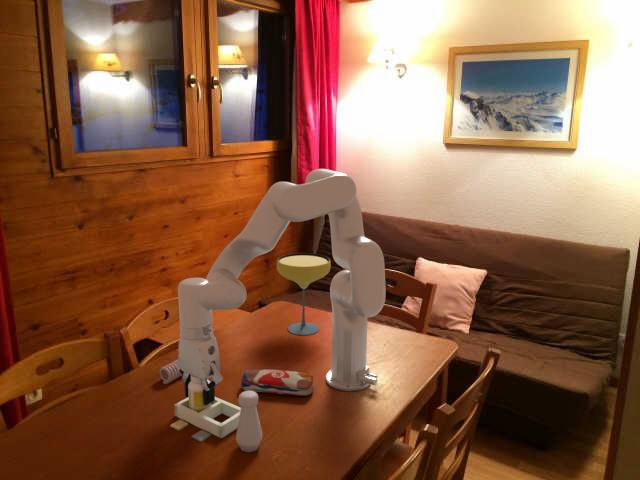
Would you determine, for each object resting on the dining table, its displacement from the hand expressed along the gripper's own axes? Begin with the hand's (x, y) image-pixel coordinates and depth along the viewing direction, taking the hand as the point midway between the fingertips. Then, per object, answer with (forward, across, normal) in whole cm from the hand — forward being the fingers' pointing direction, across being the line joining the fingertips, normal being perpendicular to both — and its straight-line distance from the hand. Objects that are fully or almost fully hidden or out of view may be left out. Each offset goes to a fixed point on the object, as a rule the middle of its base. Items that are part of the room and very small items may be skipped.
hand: (199, 398), depth 130 cm
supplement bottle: (+4, 0, 0) cm, 4 cm away
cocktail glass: (+5, +11, -58) cm, 59 cm away
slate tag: (+4, -7, +7) cm, 11 cm away
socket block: (+4, -4, 0) cm, 6 cm away
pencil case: (+5, -8, -20) cm, 22 cm away
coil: (+5, +20, -14) cm, 25 cm away
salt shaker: (+4, -19, +3) cm, 20 cm away
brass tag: (+4, 0, +7) cm, 8 cm away
